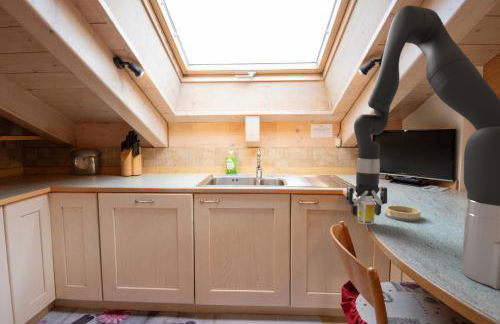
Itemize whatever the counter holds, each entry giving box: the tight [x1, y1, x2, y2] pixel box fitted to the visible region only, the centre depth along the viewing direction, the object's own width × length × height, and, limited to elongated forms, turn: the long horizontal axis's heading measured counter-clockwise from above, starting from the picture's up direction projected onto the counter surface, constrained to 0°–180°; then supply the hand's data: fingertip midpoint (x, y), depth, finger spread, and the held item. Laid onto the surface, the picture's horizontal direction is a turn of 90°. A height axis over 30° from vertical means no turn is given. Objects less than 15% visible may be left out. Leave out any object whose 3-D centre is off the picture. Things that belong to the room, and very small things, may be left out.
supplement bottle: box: [357, 196, 376, 226], centre depth 95 cm, size 6×6×10 cm
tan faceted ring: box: [384, 204, 421, 223], centre depth 103 cm, size 12×12×3 cm
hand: (365, 215), depth 96 cm, fingers open, 8 cm apart
